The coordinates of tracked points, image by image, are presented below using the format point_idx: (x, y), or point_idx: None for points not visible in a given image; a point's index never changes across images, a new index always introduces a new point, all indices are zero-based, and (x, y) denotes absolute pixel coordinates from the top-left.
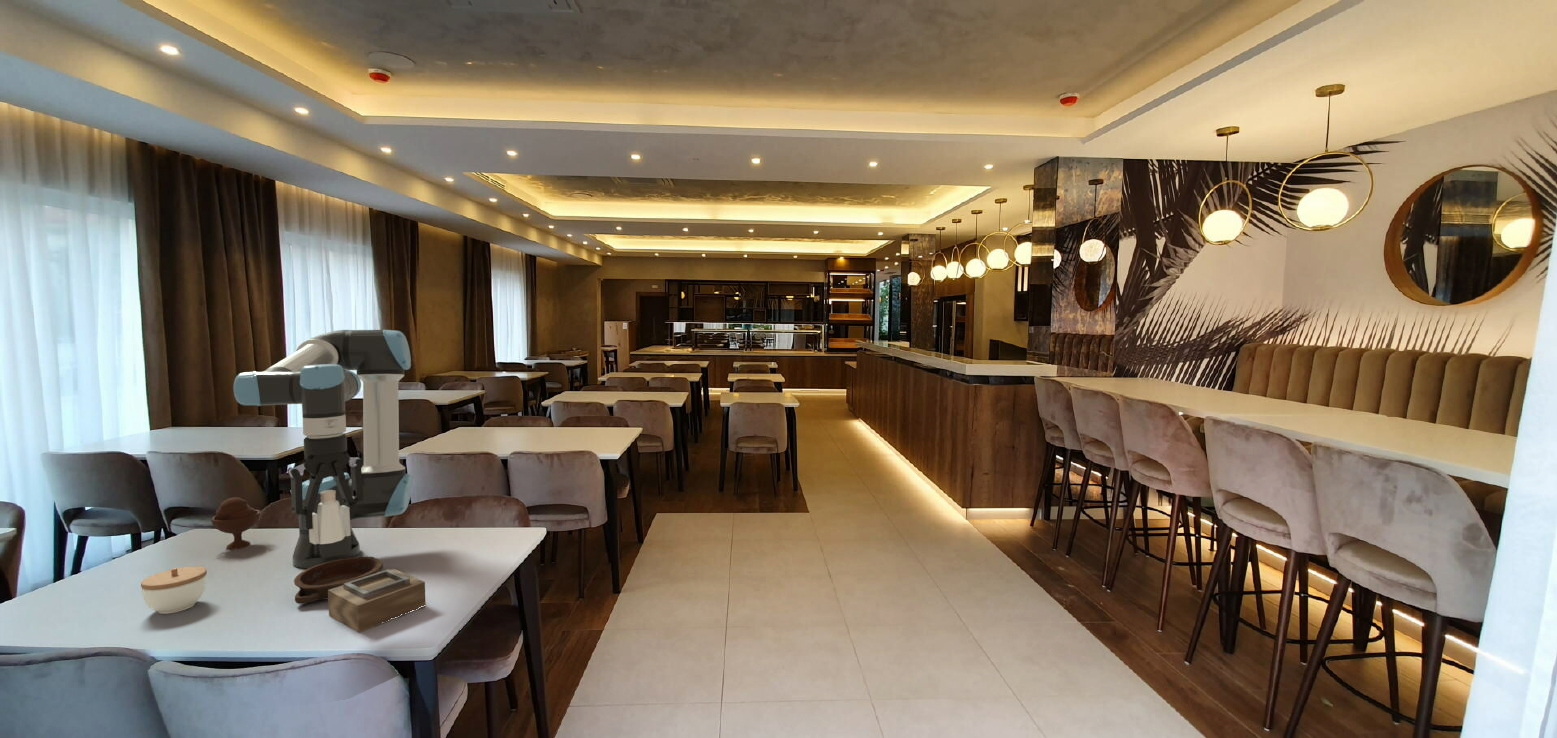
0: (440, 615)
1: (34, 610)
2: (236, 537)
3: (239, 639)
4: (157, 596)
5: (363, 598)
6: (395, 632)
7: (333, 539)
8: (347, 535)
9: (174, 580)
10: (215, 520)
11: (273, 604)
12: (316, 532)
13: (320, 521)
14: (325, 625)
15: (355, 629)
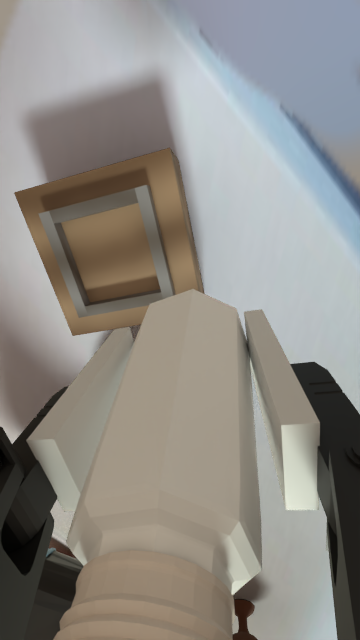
0: (28, 116)
1: None
2: (245, 623)
3: (338, 305)
4: None
5: (150, 190)
6: (118, 94)
7: (186, 297)
8: (125, 328)
9: None
10: None
11: (259, 407)
12: (262, 337)
13: (241, 388)
14: (218, 253)
15: (181, 178)
